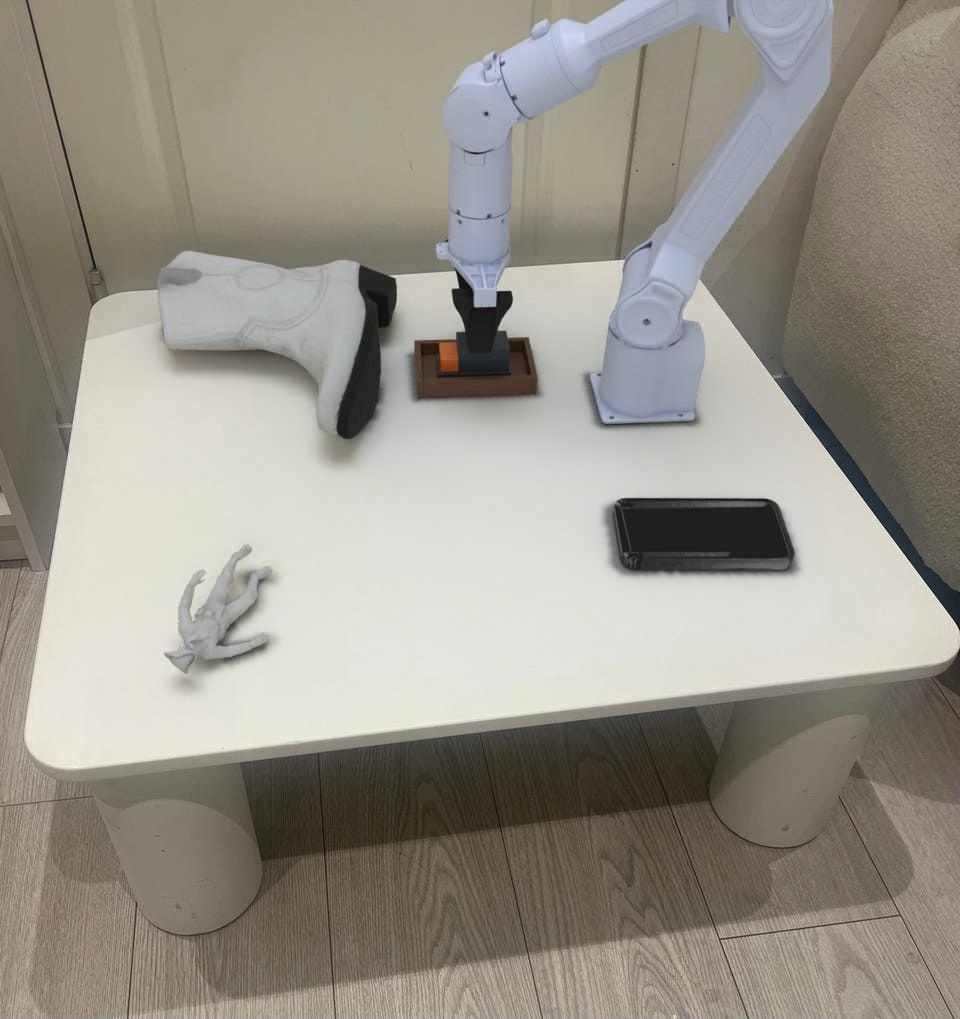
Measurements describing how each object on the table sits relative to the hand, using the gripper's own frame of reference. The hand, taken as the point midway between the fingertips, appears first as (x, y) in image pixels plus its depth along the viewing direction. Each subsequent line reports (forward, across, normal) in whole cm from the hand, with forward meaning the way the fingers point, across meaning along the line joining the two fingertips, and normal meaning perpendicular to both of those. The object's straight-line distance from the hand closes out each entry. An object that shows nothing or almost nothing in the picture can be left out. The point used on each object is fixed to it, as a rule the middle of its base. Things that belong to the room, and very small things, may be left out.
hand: (476, 328), depth 102 cm
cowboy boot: (+6, -2, -22) cm, 22 cm away
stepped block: (+5, 0, 0) cm, 5 cm away
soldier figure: (+6, +32, -23) cm, 40 cm away
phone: (+6, +25, +18) cm, 31 cm away
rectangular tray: (+6, 0, 0) cm, 6 cm away
